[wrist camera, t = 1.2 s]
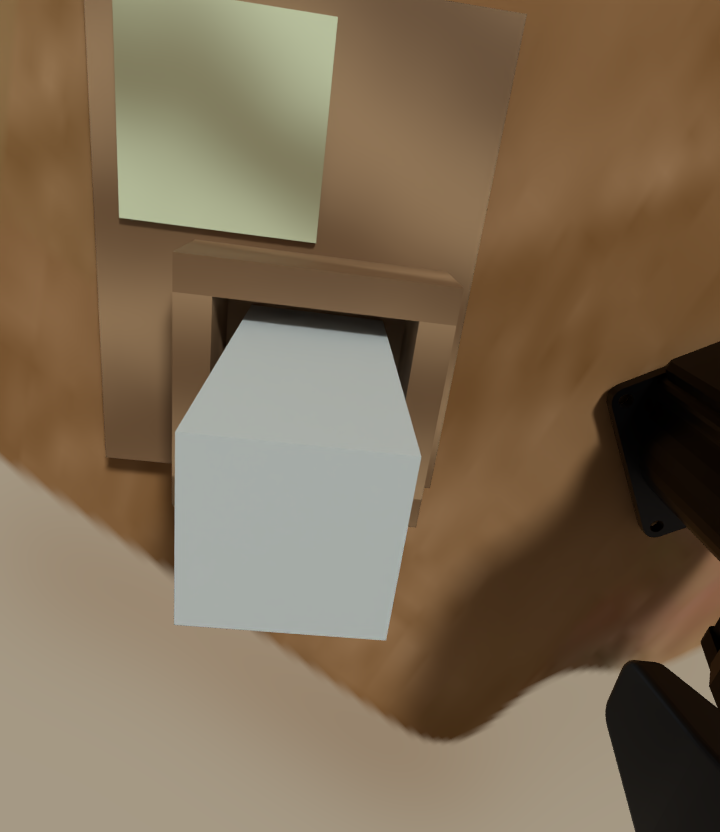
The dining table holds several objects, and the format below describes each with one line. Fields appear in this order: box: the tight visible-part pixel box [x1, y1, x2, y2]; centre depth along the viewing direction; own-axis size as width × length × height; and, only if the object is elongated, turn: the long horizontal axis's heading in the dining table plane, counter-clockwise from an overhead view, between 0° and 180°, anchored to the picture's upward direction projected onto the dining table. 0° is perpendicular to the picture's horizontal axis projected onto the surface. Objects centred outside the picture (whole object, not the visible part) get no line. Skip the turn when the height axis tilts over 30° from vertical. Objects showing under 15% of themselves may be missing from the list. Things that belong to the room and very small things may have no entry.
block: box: [174, 305, 421, 640], centre depth 14 cm, size 4×4×9 cm
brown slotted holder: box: [84, 0, 527, 527], centre depth 16 cm, size 14×11×4 cm
